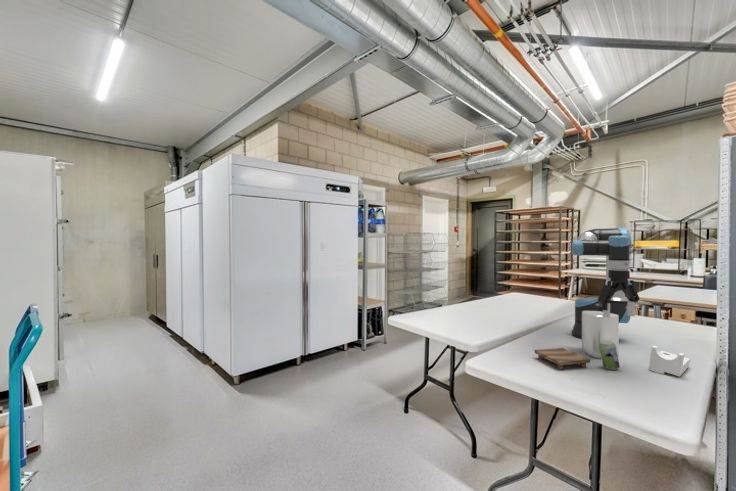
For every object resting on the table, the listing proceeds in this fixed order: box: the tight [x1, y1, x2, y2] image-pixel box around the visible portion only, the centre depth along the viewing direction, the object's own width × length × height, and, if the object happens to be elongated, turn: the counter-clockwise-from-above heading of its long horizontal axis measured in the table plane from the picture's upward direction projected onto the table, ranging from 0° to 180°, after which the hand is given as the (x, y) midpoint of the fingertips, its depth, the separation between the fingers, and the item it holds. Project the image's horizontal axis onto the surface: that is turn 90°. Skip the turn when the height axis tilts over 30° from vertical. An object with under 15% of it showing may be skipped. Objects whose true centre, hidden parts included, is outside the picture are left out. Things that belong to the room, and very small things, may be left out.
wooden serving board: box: [534, 347, 591, 371], centre depth 150 cm, size 16×16×4 cm
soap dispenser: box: [581, 311, 620, 359], centre depth 159 cm, size 15×14×22 cm
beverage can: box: [599, 341, 620, 371], centre depth 143 cm, size 6×7×12 cm
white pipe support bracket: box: [648, 344, 691, 378], centre depth 141 cm, size 18×10×10 cm, turn 126°
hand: (618, 316), depth 142 cm, fingers open, 13 cm apart
